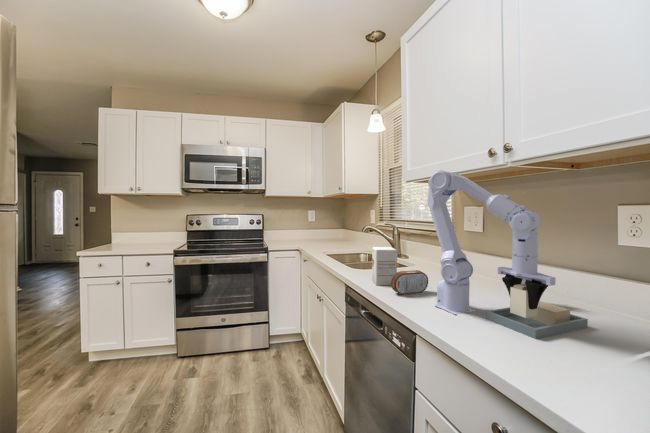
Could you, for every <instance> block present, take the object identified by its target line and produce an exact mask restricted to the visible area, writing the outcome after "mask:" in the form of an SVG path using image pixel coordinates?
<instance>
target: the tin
mask: <svg viewBox="0 0 650 433" xmlns="http://www.w3.org/2000/svg"><path fill="white" fill-rule="evenodd" d="M428 285H429V277H428V275H427V274H426V273H425V272H423V271H421V270H417V269H416V270H415V269H414V270H401V271H397V273H396V274H395V275H394V276H393V277H392V280H391V285H390V286H391V288H392V290H393V292H395V293H397V294H400V295H410V294H411V295H412V294H421V293H424V292H425V291H426V289H427V288H428Z"/></svg>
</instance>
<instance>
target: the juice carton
mask: <svg viewBox="0 0 650 433" xmlns="http://www.w3.org/2000/svg"><path fill="white" fill-rule="evenodd" d="M509 299H510V300H509V307H510V313H513V314H516V315H519V316H521V317H524V318H529V317H534V316H537V311H538V306H537V309H529V304H528V290H527V287H526V284H518V285H514V287H510V295H509Z"/></svg>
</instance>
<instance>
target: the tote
mask: <svg viewBox="0 0 650 433" xmlns="http://www.w3.org/2000/svg"><path fill="white" fill-rule="evenodd" d="M485 320H487V321H490V322H492V323H495V324H497V325H500V326H503V327H505V328H507V329H509V330H512V331H514V332H517V333H520V334H522V335H524V336H527V337H529V338H532V339H534V340H537V339H541V338H546V337H550V336H551V337H552V336H555V335H559V334H560V335H561V334H564V333H569V332H574V331H578V330H582V329H586V328H588V326H589V325H588V324H589V321H588V320H589V319H588V318H585V317H583V316H579V315H577V314H572V313H570V321H567V322H562V323H557V324H553V325H547V324H544V323H542V322H539V321H536V320H533V319H530V318H524V317H521V316H519V315H516V314H513V313H510V306H509V307H503V308H496V309H491V310H485Z"/></svg>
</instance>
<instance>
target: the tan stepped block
mask: <svg viewBox="0 0 650 433" xmlns="http://www.w3.org/2000/svg"><path fill="white" fill-rule="evenodd" d="M570 314H571V309H569V308H567V307H563V306H558V305H557V304H556V305H555V304H552V303H548V302H545V301H541V300H539V303H538V311H537V316H534V317H529V318H530V319H533V320H536V321H539V322H542V323H544V324H547V325H553V324H557V323H562V322H567V321H570Z"/></svg>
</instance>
